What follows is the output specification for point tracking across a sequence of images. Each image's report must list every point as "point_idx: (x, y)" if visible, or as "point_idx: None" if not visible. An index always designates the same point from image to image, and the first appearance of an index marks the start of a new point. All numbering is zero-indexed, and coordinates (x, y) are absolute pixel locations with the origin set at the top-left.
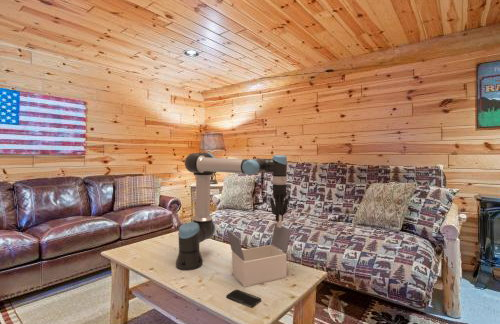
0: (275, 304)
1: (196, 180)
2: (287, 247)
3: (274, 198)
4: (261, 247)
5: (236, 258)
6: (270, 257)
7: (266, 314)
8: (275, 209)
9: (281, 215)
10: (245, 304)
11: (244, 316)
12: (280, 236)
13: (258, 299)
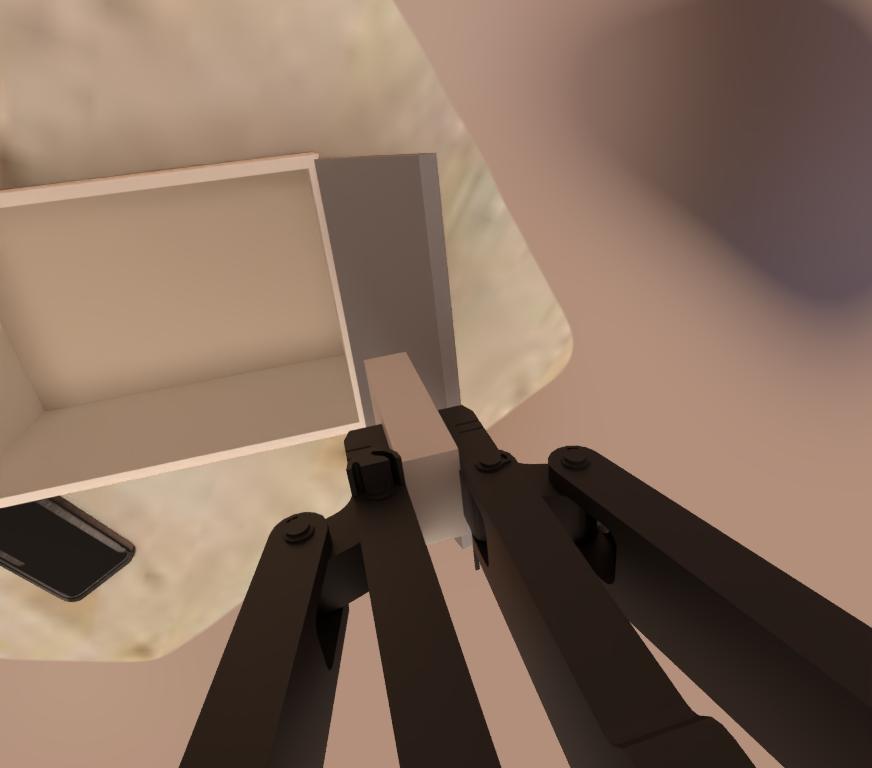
0: (202, 582)
1: None
2: None
3: None
4: (184, 183)
5: None
6: (215, 461)
7: (142, 637)
8: (326, 716)
9: (465, 527)
10: (38, 584)
11: (32, 644)
12: (386, 346)
13: (117, 556)
